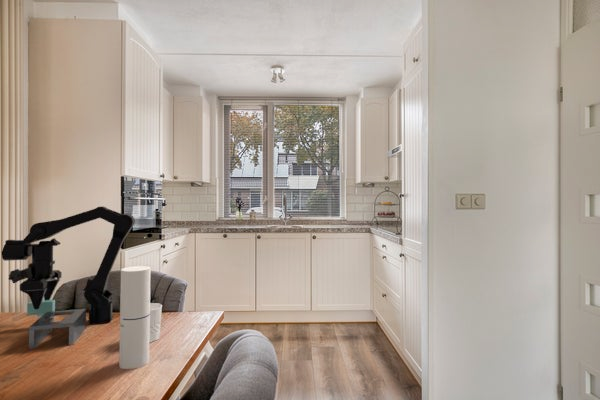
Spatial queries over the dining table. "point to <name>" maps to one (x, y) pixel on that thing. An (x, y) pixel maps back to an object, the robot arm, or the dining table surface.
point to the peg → (41, 308)
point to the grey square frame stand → (46, 323)
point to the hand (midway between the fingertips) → (41, 305)
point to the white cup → (155, 321)
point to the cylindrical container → (134, 317)
